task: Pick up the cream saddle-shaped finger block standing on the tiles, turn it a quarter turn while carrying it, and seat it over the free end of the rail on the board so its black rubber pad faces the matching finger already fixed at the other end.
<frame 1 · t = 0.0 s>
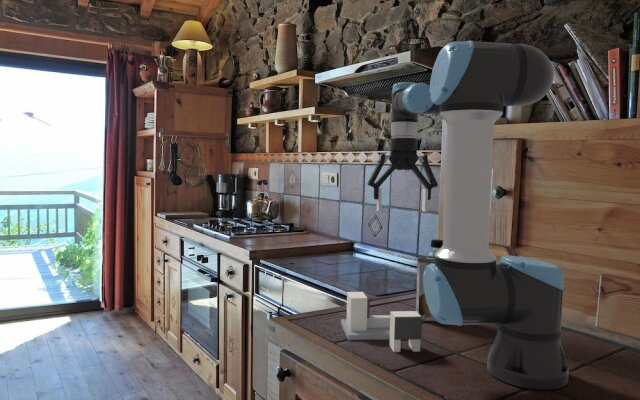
hand: (401, 211, 147), 28 cm above the countertop, tool pointing down, fingers open, 13 cm apart
coffee box: (433, 318, 137), on the countertop
rail base: (375, 331, 125), on the countertop
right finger: (404, 348, 114), on the countertop
beverage bottle: (435, 308, 148), on the countertop
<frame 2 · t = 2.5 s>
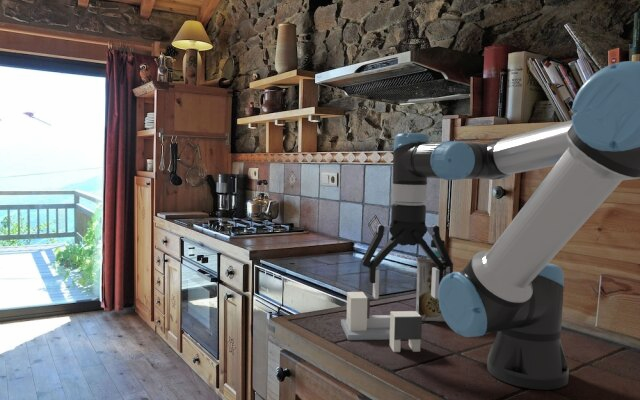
hand: (405, 297, 113), 12 cm above the countertop, tool pointing down, fingers open, 13 cm apart
nothing on the countertop moved.
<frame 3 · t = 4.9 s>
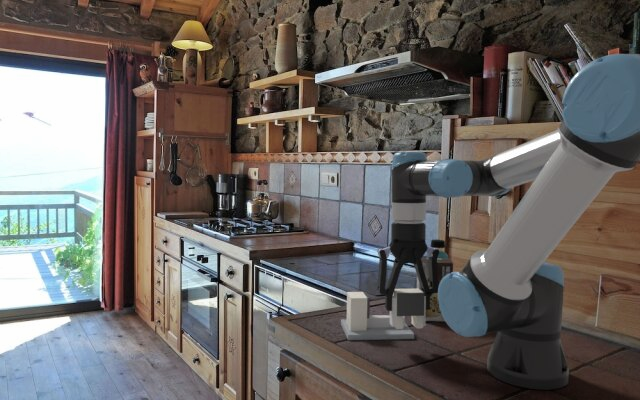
hand: (407, 324, 113), 6 cm above the countertop, tool pointing down, fingers closed on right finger, 6 cm apart
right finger: (407, 325, 113), point 5 cm above the countertop, touching gripper
everything else where it was.
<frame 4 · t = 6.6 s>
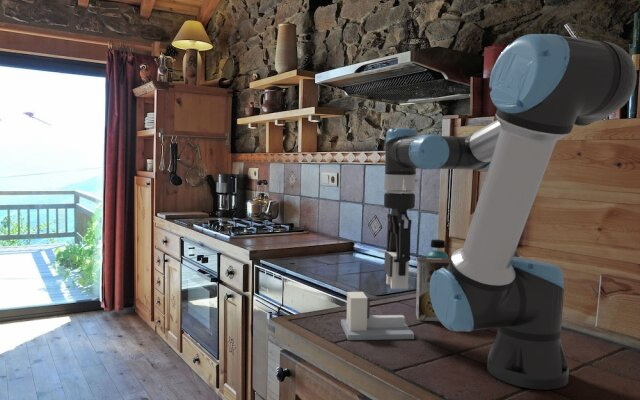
hand: (396, 284, 125), 12 cm above the countertop, tool pointing down, fingers closed on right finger, 6 cm apart
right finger: (396, 285, 125), point 11 cm above the countertop, touching gripper
everything else where it was.
when the fingers open (2 cm above the countertop, at t = 8.5 s): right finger stays where it is, resting on rail base.
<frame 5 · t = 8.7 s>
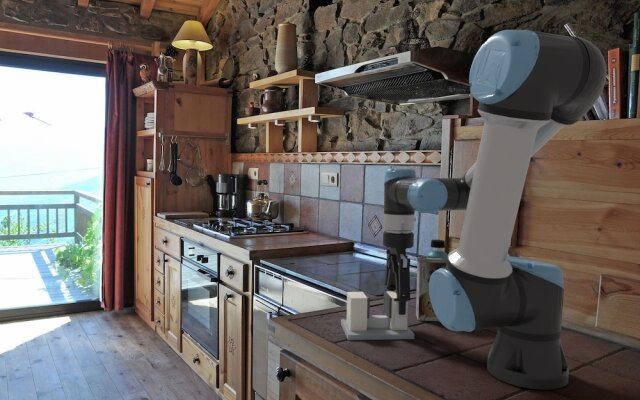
hand: (395, 321, 126), 2 cm above the countertop, tool pointing down, fingers open, 8 cm apart
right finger: (395, 326, 126), point 1 cm above the countertop, touching rail base
everything else where it was.
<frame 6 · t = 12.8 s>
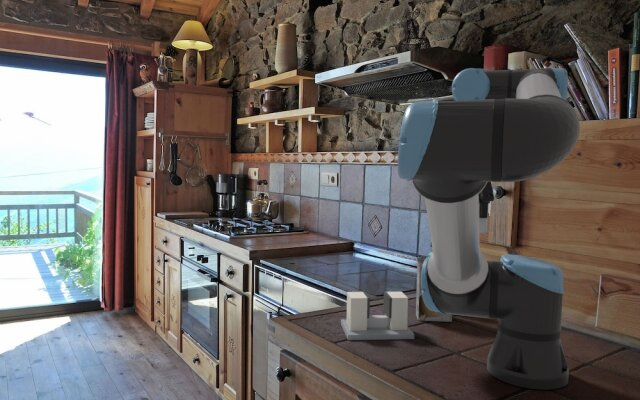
hand: (468, 228, 119), 27 cm above the countertop, tool pointing down, fingers open, 13 cm apart
nothing on the countertop moved.
at the end: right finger 0.0 cm from the target spot on the rail base, point 1.2 cm above the rail base's base; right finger tilted 0°; the gripper is holding nothing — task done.
